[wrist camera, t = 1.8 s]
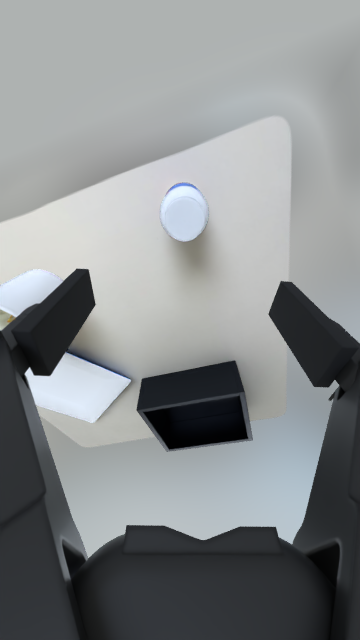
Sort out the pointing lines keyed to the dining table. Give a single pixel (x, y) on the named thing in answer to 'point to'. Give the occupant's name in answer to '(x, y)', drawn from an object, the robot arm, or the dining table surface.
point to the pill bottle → (184, 212)
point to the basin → (196, 407)
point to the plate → (77, 388)
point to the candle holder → (25, 293)
